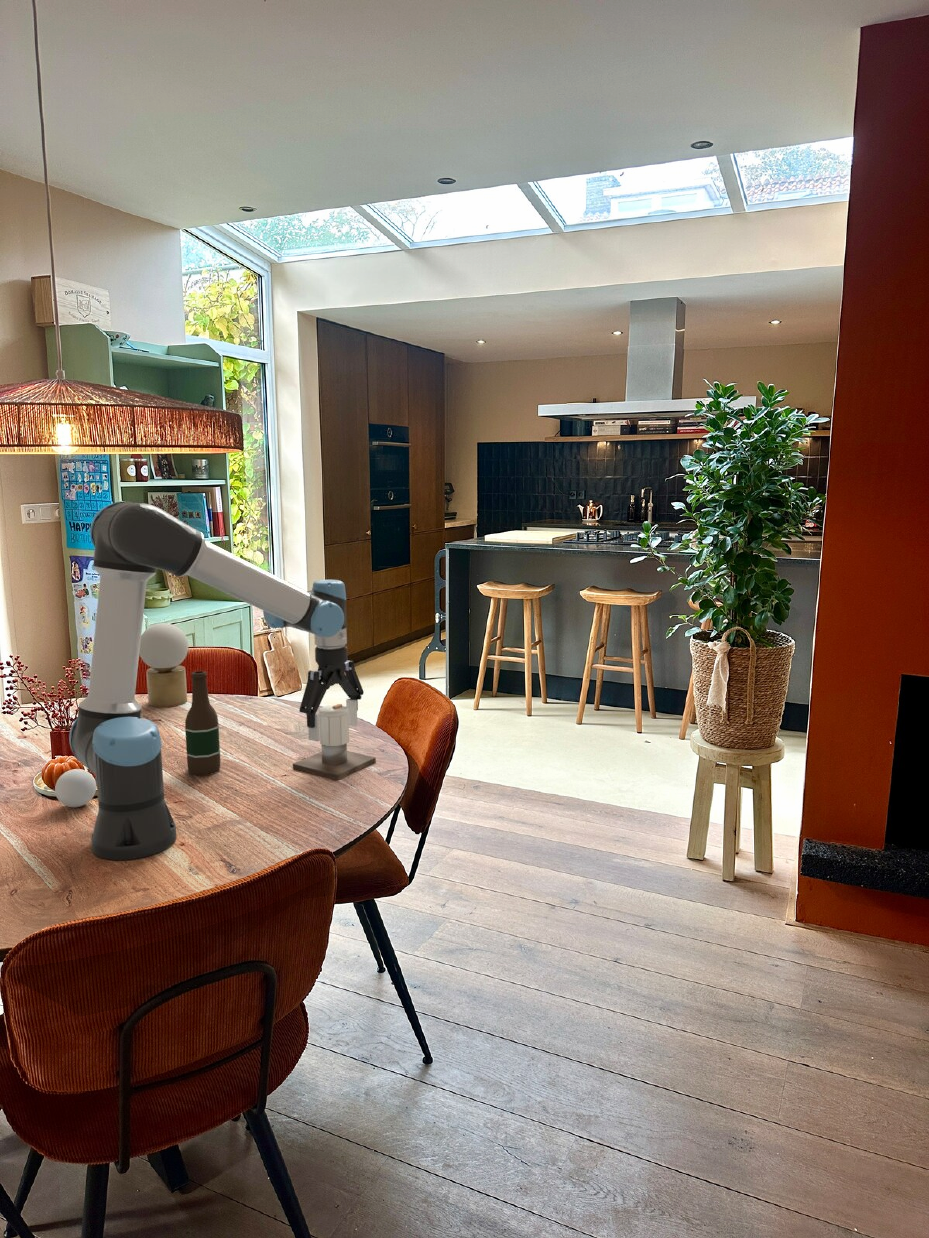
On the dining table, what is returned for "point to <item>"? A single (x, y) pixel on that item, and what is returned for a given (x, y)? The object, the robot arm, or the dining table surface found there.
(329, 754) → the post block
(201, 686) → the beer bottle
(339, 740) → the canister
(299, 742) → the dining table surface
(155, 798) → the robot arm
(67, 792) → the ball
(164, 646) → the lamp
